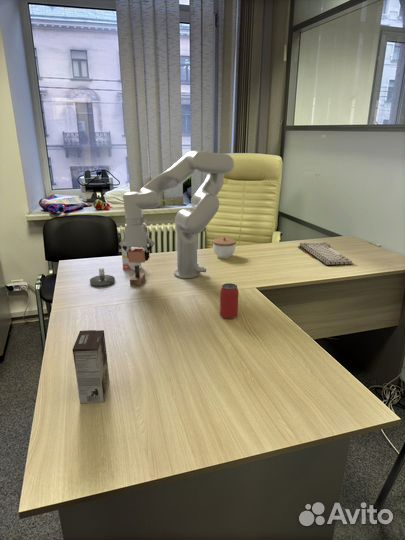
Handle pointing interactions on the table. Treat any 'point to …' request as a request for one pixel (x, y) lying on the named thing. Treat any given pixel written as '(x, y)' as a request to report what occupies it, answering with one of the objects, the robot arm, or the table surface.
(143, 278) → the stand
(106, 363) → the coffee box
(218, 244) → the lidded bowl
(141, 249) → the collar
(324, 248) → the mechanical keyboard
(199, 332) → the table surface
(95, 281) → the hub
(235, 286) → the beer can
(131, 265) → the ink cartridge box
